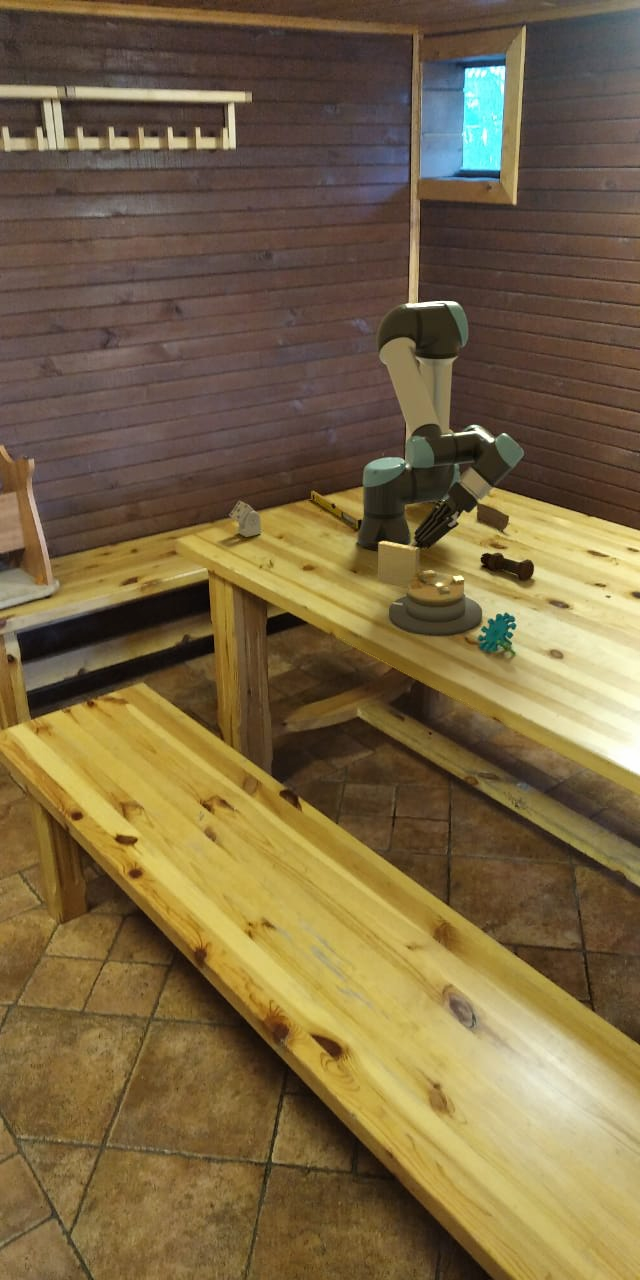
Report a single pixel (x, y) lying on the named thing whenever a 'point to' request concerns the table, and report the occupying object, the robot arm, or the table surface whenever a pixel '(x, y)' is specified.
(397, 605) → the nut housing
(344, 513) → the spirit level
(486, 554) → the bolt
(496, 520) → the wood plank
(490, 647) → the teal spiky piece
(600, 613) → the table surface
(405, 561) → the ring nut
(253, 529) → the mechanical component
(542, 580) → the table surface
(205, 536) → the table surface
